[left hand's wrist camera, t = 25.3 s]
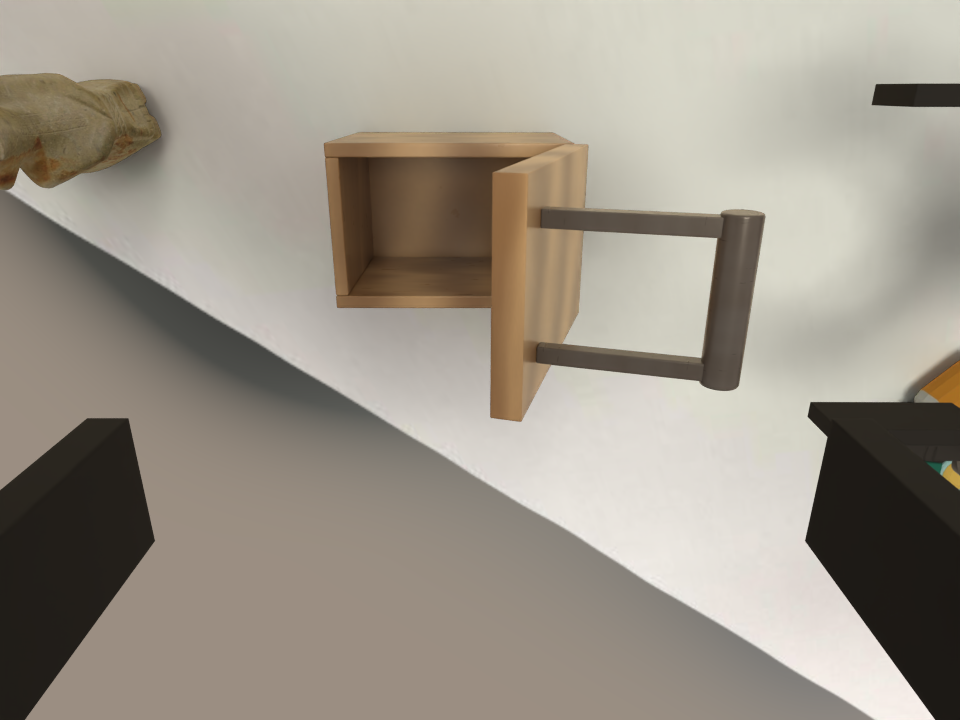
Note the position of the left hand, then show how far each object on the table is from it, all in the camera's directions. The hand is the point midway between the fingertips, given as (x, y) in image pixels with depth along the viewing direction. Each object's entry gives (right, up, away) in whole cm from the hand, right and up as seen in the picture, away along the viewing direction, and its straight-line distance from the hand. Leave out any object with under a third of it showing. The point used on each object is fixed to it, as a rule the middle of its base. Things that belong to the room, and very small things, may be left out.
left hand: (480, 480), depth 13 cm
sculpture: (-24, +18, +32) cm, 43 cm away
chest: (-2, +13, +33) cm, 36 cm away
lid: (+2, +7, +17) cm, 18 cm away
